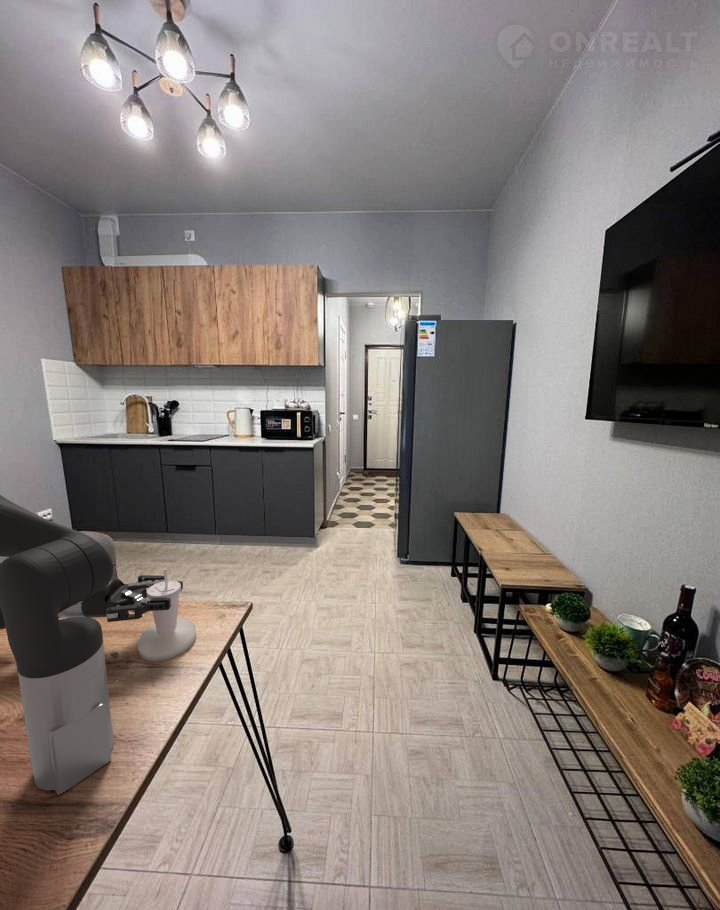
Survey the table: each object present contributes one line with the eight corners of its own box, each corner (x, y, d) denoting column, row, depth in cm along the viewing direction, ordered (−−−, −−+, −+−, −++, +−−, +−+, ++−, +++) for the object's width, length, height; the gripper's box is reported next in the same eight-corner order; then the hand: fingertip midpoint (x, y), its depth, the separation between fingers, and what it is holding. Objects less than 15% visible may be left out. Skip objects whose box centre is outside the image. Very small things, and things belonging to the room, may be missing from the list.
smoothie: (170, 641, 73) (166, 578, 71) (142, 637, 74) (137, 574, 72) (189, 622, 79) (186, 563, 77) (163, 618, 80) (159, 560, 78)
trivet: (205, 640, 78) (205, 631, 78) (152, 669, 70) (151, 660, 69) (181, 620, 85) (180, 612, 85) (129, 645, 76) (129, 636, 76)
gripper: (65, 601, 66) (161, 597, 68) (108, 565, 80) (187, 562, 82) (69, 637, 67) (163, 632, 69) (111, 595, 81) (188, 592, 83)
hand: (176, 594), depth 76 cm, fingers closed on smoothie, 6 cm apart
